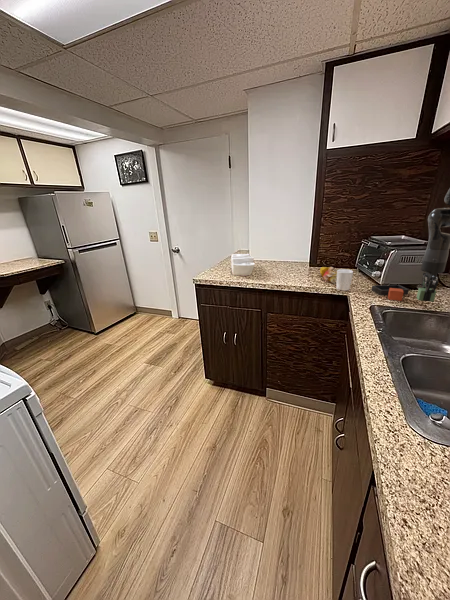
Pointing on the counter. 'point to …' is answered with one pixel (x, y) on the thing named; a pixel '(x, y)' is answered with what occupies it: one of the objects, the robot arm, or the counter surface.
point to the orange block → (395, 294)
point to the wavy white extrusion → (242, 264)
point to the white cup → (344, 279)
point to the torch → (328, 274)
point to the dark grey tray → (387, 289)
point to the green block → (421, 295)
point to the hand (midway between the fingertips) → (424, 298)
